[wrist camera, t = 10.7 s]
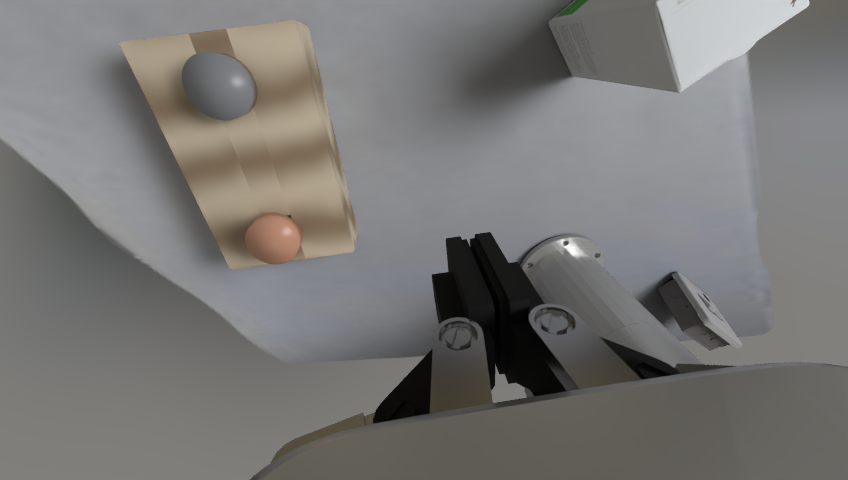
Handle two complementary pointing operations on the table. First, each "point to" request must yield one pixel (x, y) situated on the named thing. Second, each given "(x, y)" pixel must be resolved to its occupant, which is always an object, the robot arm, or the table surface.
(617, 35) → the skincare box
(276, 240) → the terracotta button
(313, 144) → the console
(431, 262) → the table surface
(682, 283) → the electrical switch
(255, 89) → the grey button
